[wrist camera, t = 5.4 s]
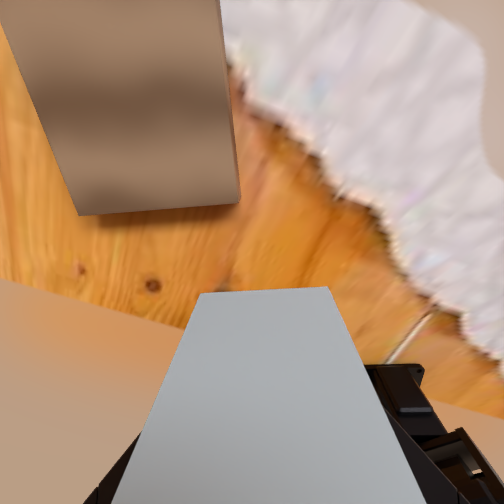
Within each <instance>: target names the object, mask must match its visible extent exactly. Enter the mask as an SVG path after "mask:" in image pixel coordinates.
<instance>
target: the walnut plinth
mask: <svg viewBox="0 0 504 504" xmlns="http://www.w3.org/2000/svg"><path fill="white" fill-rule="evenodd" d="M0 23H1V25H2V28H3V30H4V33H5V35H6V38H7V40H8V43H9V45H10V47H11V50H12V52H13V55H14V57H15V60H16V62H17V65H18V67H19V70H20V72H21V75H22V77H23V80H24V82H25V84H26V87H27V89H28V92H29V94H30V97H31V99H32V102H33V104H34V107H35V109H36V112H37V114H38V117H39V119H40V121H41V124H42V126H43V129H44V131H45V134H46V136H47V139H48V141H49V144H50V146H51V149H52V151H53V154H54V156H55V158H56V161H57V163H58V166H59V168H60V171H61V173H62V176H63V178H64V181H65V183H66V186H67V188H68V191H69V193H70V195H71V198H72V200H73V203H74V205H75V208H76V210H77V213H78V215H79V216H86V215H98V214H110V213H123V212H135V211H147V210H159V209H171V208H183V207H196V206H208V205H220V204H232V203H239V201H240V198H241V191H240V182H239V173H238V164H237V154H236V145H235V136H234V127H233V118H232V109H231V100H230V91H229V82H228V73H227V64H226V55H225V45H224V36H223V27H222V18H221V9H220V0H0Z"/></svg>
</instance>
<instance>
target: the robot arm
mask: <svg viewBox="0 0 504 504" xmlns="http://www.w3.org/2000/svg"><path fill="white" fill-rule="evenodd" d="M364 367H365V369H366V372H367V374H368V376H369V378H370V380H371V383H372V385H373V387H374V389H375V391H376V394H377V396H378V398H379V400H380V402H381V405H382V407H383V409H384V411H385V413H386V416H387V418H388V420H389V422H390V424H391V427H392V429H393V431H394V433H395V435H396V438H397V440H398V442H399V444H400V446H401V449H402V451H403V453H404V455H405V457H406V460H407V462H408V464H409V466H410V468H411V471H412V473H413V475H414V477H415V479H416V482H417V484H418V486H419V488H420V490H421V493H422V495H423V497H424V499H425V501H426V504H504V483H503V482H502V480H501V479H500V477H499V476H498V475H497V473H496V472H495V470H494V469H493V467H492V466H491V465H490V463H489V462H488V461H487V459H486V458H485V456H484V455H483V454H482V452H481V451H480V450H479V449H478V447H477V446H476V445H475V443H474V442H473V441H472V439H471V438H470V437H469V435H468V434H467V433H466V431H465V430H464V429H463V428H462V427H460V428H457V429H455V430H456V431H454V432H451V433H448V432H447V431H446V429H445V428H444V426H443V424H442V423H441V421H440V420H439V418H438V416H437V415H436V413H435V412H434V410H433V407H432V406H431V404H430V403H429V401H428V400H427V398H426V396H425V395H424V393H423V392H422V390H421V389H420V385H421V381H422V378H423V375H424V371H425V369H424V368H423V367H422V365H420V364H392V365H364ZM141 432H142V431H141ZM140 435H141V433H140V434H139V435H138V436H137V438H136V439H135V440H134V441H133V442H132V444H131V445H130V446H129V447H128V449H127V450H126V451H125V453H124V454H123V455H122V456H121V457H120V459H119V460H118V461H117V462H116V463H115V465H114V466H113V467H112V469H111V470H110V471H109V472H108V474H107V475H106V476H105V477H104V479H103V480H102V481H101V482H100V483H99V486H98V487H96V488H95V489H94V491H93V492H92V493H91V494H90V495H89V497H88V498H87V499H86V500H85V502H84V503H83V504H111V503H112V500H113V498H114V496H115V493H116V491H117V489H118V486H119V484H120V481H121V479H122V477H123V474H124V472H125V470H126V467H127V465H128V463H129V460H130V458H131V456H132V453H133V451H134V449H135V446H136V444H137V442H138V439H139V437H140ZM477 469H481V470H482V472H481V473H477V474H473V473H472V471H473V470H477Z"/></svg>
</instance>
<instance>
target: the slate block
mask: <svg viewBox="0 0 504 504" xmlns="http://www.w3.org/2000/svg"><path fill="white" fill-rule="evenodd" d="M111 504H426V501H425V499H424V497H423V495H422V493H421V490H420V488H419V486H418V484H417V482H416V479H415V477H414V475H413V473H412V471H411V468H410V466H409V464H408V462H407V460H406V457H405V455H404V453H403V451H402V449H401V446H400V444H399V442H398V440H397V438H396V435H395V433H394V431H393V429H392V427H391V424H390V422H389V420H388V418H387V416H386V413H385V411H384V409H383V407H382V405H381V402H380V400H379V398H378V396H377V394H376V391H375V389H374V387H373V385H372V383H371V380H370V378H369V376H368V374H367V372H366V369H365V367H364V365H363V363H362V361H361V358H360V356H359V354H358V352H357V350H356V347H355V345H354V343H353V341H352V339H351V336H350V334H349V332H348V330H347V328H346V325H345V323H344V321H343V319H342V317H341V314H340V312H339V310H338V308H337V306H336V303H335V301H334V299H333V297H332V295H331V292H330V290H329V288H328V287H311V288H292V289H273V290H254V291H235V292H216V293H201V294H200V296H199V298H198V301H197V303H196V305H195V308H194V310H193V312H192V315H191V317H190V319H189V322H188V324H187V326H186V329H185V331H184V334H183V336H182V338H181V341H180V343H179V345H178V348H177V350H176V352H175V355H174V357H173V359H172V362H171V364H170V366H169V369H168V371H167V373H166V376H165V378H164V381H163V383H162V385H161V388H160V390H159V392H158V395H157V397H156V399H155V402H154V404H153V406H152V409H151V411H150V413H149V416H148V418H147V420H146V423H145V425H144V428H143V430H142V432H141V435H140V437H139V439H138V442H137V444H136V446H135V449H134V451H133V453H132V456H131V458H130V460H129V463H128V465H127V467H126V470H125V472H124V474H123V477H122V479H121V481H120V484H119V486H118V489H117V491H116V493H115V496H114V498H113V500H112V503H111Z"/></svg>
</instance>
